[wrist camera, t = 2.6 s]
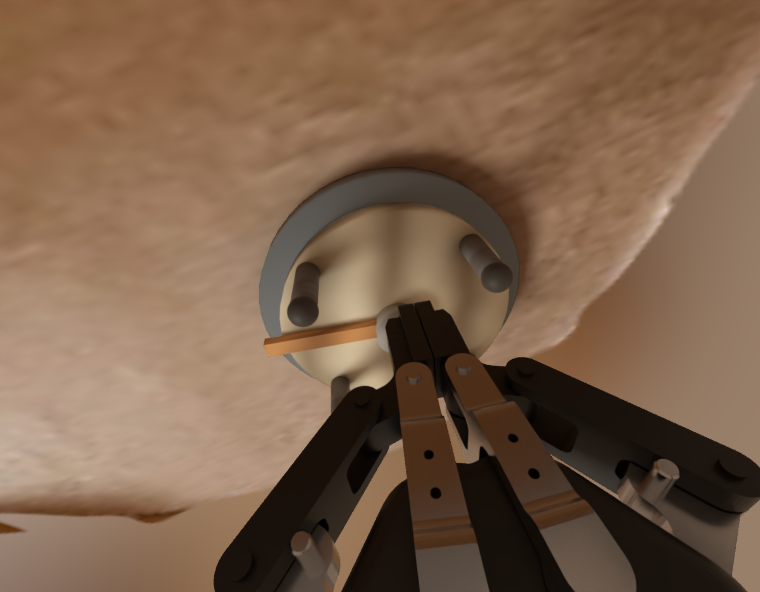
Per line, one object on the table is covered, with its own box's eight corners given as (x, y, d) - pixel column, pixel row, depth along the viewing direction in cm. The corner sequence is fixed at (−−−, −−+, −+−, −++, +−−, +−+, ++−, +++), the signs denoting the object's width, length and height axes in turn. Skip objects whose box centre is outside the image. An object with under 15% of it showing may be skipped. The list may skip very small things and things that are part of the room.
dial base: (523, 144, 26) (537, 149, 24) (499, 358, 40) (507, 372, 38) (219, 194, 26) (211, 204, 24) (301, 394, 39) (300, 410, 38)
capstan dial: (509, 182, 25) (571, 221, 19) (492, 363, 37) (527, 427, 30) (228, 229, 25) (192, 286, 18) (299, 399, 36) (292, 471, 30)
